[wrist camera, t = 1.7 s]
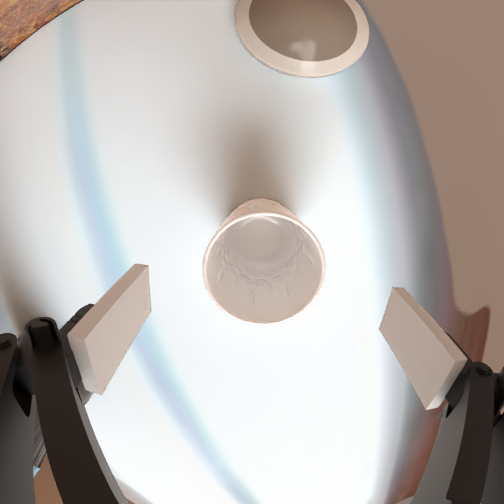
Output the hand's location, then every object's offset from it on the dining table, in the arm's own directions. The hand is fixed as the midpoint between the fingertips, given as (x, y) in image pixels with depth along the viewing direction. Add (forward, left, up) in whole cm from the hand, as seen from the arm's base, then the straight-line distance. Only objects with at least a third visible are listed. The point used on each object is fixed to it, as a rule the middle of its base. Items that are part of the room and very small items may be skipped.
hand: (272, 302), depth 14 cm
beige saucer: (+2, +22, -14) cm, 26 cm away
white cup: (0, 0, -14) cm, 14 cm away
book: (-29, +31, -14) cm, 45 cm away
